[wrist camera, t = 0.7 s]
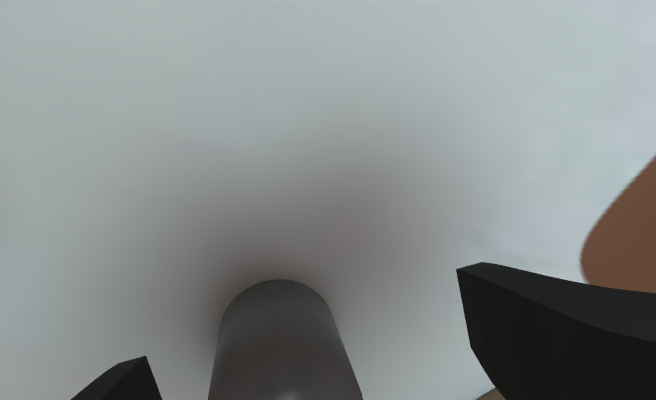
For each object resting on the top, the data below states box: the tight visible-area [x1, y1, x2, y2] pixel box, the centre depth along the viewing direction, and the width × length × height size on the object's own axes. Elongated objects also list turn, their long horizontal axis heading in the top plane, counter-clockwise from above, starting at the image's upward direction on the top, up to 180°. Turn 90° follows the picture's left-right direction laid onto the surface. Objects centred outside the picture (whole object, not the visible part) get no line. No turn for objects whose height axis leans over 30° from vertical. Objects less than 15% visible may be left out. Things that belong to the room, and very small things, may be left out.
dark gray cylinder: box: [208, 280, 363, 400], centre depth 18 cm, size 5×5×6 cm
